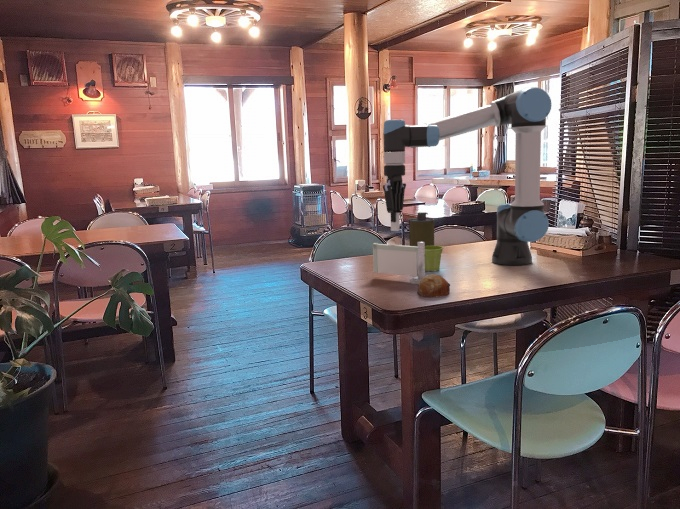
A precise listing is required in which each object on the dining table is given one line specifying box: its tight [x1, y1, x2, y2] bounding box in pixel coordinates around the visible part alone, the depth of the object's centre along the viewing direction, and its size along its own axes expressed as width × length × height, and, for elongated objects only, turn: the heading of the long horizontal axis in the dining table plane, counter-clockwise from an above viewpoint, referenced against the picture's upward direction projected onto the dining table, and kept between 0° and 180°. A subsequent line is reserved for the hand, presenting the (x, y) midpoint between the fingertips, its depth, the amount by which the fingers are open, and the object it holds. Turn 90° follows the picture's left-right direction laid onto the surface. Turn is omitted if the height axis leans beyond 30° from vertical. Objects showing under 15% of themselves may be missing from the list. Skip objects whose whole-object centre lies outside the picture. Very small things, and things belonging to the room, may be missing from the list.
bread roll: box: [416, 273, 451, 298], centre depth 176 cm, size 10×10×8 cm
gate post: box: [409, 242, 426, 285], centre depth 191 cm, size 6×6×14 cm
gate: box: [372, 242, 418, 278], centre depth 196 cm, size 17×2×11 cm, turn 55°
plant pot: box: [425, 245, 444, 272], centre depth 211 cm, size 9×9×9 cm
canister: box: [408, 211, 436, 247], centre depth 227 cm, size 11×10×20 cm
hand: (395, 230), depth 201 cm, fingers closed
